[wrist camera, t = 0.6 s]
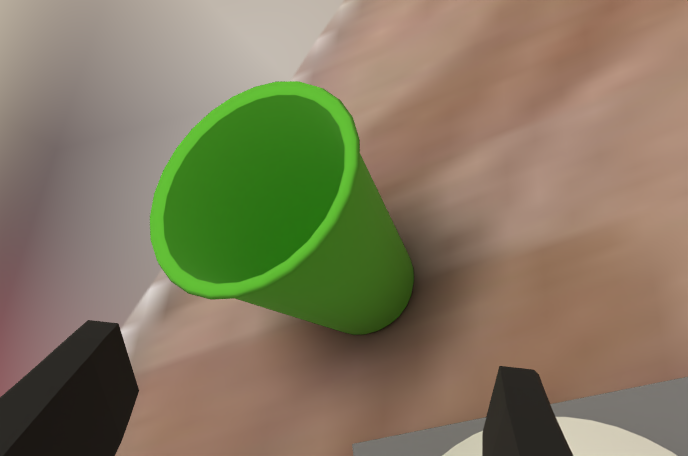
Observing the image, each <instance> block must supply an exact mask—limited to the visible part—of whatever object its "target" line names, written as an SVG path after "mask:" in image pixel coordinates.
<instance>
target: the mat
mask: <svg viewBox="0 0 688 456" xmlns="http://www.w3.org/2000/svg"><path fill="white" fill-rule="evenodd" d="M550 405H551V407H552V410H553V412H554V414H555V417H571V418H578V419H586V420H592V421H596V422H600V423H604V424H608V425H612V426H615V427H619V428H621V429H624V430H627V431H629V432H632V433H634V434H637V435H639V436H642V437H644V438H646V439H648V440H650V441H652V442H654V443H656V444H658V445H660V446H662V447H663V448H665V449H667V450H669V451H671V452H673V453H674V454H676V455H677V456H688V377H684V378H679V379H674V380H669V381H664V382H659V383H654V384H649V385H644V386H639V387H634V388H629V389H624V390H619V391H615V392H610V393H605V394H600V395H595V396H590V397H585V398H580V399H575V400H570V401H565V402H560V403H555V404H550ZM485 421H486V417H485V418H480V419H475V420H470V421H465V422H460V423H455V424H450V425H445V426H440V427H435V428H430V429H425V430H420V431H415V432H410V433H405V434H400V435H395V436H390V437H385V438H380V439H375V440H370V441H365V442H360V443H355V444H352V446H353V456H442V455H444V454H445V453H446V452H448V451H449V450H450V449H451V448H453V447H454V446H455V445H457V444H459V443H460V442H462V441H464V440H465V439H467V438H469V437H470V436H472V435H474V434H476V433H479V432H481V431H483V428H484V424H485Z"/></svg>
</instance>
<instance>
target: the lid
mask: <svg viewBox="0 0 688 456" xmlns="http://www.w3.org/2000/svg"><path fill="white" fill-rule="evenodd" d="M556 419H557V421H558V424H559V426H560V428H561V430H562V432H563V434H564V437H565V439H566V441H567V443H568V445H569V447H570V450H571V452H572V454H573V456H677V455H676V454H674V453H673V452H671V451H669V450H667V449H665V448H663V447H662V446H660V445H658V444H656V443H654V442H652V441H650V440H648V439H646V438H644V437H642V436H639V435H637V434H634V433H632V432H629V431H627V430H624V429H621V428H619V427H615V426H612V425H608V424H604V423H600V422H596V421H592V420H586V419H578V418H571V417H556ZM482 432H483V431H481V432H479V433H476V434H474V435H472V436H470V437H469V438H467V439H465V440H464V441H462V442H460V443H459V444H457V445H455V446H454V447H453V448H451V449H450V450H449V451H448V452H446V453H445V454H444V455H442V456H482Z"/></svg>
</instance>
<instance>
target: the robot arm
mask: <svg viewBox="0 0 688 456" xmlns="http://www.w3.org/2000/svg"><path fill="white" fill-rule="evenodd" d="M138 392H139V389H138V386H137V383H136V379H135V376H134V373H133V370H132V366H131V363H130V360H129V357H128V353H127V350H126V347H125V344H124V340H123V337H122V334H121V331H120V327H119V324H118V323H109V322H100V321H90V320H88V321H87V322H86V323H84V324H83V325H82V326H81V327H80V328H79V329H78V330H76V331H75V332H74V333H73V334H72V335H71V336H69V337H68V338H67V339H66V340H65V341H64V342H63V343H62V344H60V346H58V347H57V348H56V349H55V350H54V351H53V352H52V353H50V354H49V355H48V356H47V357H46V358H45V359H44V360H43V361H41V362H40V363H39V364H38V365H37V366H36V367H35V368H34V369H32V370H31V371H30V372H29V373H28V374H27V375H26V376H25V377H23V378H22V379H21V380H20V381H19V382H18V383H16V384H15V385H14V386H13V387H12V388H11V389H10V390H8V391H7V392H6V393H5V394H4V395H3V396H1V397H0V456H115V454H116V452H117V450H118V447H119V445H120V443H121V441H122V438H123V436H124V433H125V430H126V427H127V425H128V422H129V419H130V416H131V413H132V410H133V407H134V404H135V401H136V398H137V395H138ZM482 456H573V454H572V452H571V450H570V447H569V445H568V443H567V441H566V439H565V437H564V434H563V432H562V430H561V428H560V426H559V424H558V421H557V419H556V417H555V414H554V412H553V410H552V407H551V405H550V403H549V400H548V398H547V395H546V393H545V390H544V387H543V385H542V382H541V379H540V377H539V374H538V373H537V372H536V371H535V370H531V369H522V368H513V367H504V366H499V370H498V374H497V378H496V382H495V386H494V389H493V393H492V397H491V401H490V405H489V409H488V413H487V417H486V421H485V424H484V428H483V432H482Z"/></svg>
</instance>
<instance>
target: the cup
mask: <svg viewBox="0 0 688 456" xmlns="http://www.w3.org/2000/svg"><path fill="white" fill-rule="evenodd" d="M150 235H151V242H152V245H153V249H154V252H155V255H156V258H157V261H158V263H159V265H160V266H161V268H162V269H163V271H164V272H165V273H166V275H167V276H168V278H169V279H170V280H171V282H173V283H174V284H176V285H177V286H178V287H180V288H181V289H183V290H184V291H186V292H187V293H189V294H192V295H196V296H200V297H204V298H208V299H230V298H235V299H238V300H242V301H245V302H248V303H251V304H254V305H258V306H261V307H264V308H267V309H270V310H274V311H277V312H280V313H283V314H286V315H290V316H293V317H296V318H299V319H302V320H306V321H309V322H312V323H315V324H318V325H322V326H325V327H328V328H331V329H334V330H338V331H341V332H345V333H348V334H352V335H357V334H368V333H371V332H375V331H378V330H380V329H382V328H384V327H386V326H388V325H390V324H391V323H392V322H393V321H394V320H395V319H396V318H398V317H399V316H400V314H401V313H402V312H403V310H404V309H405V307H406V306H407V303H408V301H409V299H410V297H411V293H412V288H413V283H414V272H413V266H412V263H411V260H410V257H409V255H408V253H407V251H406V249H405V247H404V244H403V242H402V240H401V238H400V236H399V234H398V232H397V230H396V228H395V226H394V224H393V221H392V219H391V217H390V215H389V213H388V211H387V209H386V207H385V205H384V203H383V201H382V199H381V196H380V194H379V192H378V190H377V188H376V186H375V184H374V182H373V180H372V178H371V176H370V173H369V171H368V169H367V167H366V165H365V163H364V161H363V159H362V157H361V155H360V140H359V137H358V133H357V130H356V127H355V123H354V120H353V117H352V116H351V114H350V113H349V112H348V110H347V109H346V107H345V106H344V105H343V103H342V102H341V101H340V100H339V99H338V98H336V97H335V96H333V95H332V94H330V93H329V92H327V91H326V90H325V89H323V88H319V87H316V86H312V85H309V84H305V83H302V82H274V83H269V84H265V85H261V86H257V87H254V88H251V89H249V90H247V91H245V92H242V93H240V94H238V95H236V96H234V97H232V98H230V99H229V100H227V101H226V102H224V103H223V104H221V105H220V106H218V107H217V108H215V109H214V110H212V111H211V112H210V113H209V114H208V115H207V116H206V117H204V118H203V119H202V120H201V121H200V122H199V123H198V124H197V125H196V126H195V127H194V128H193V129H192V130H191V131H190V132H189V134H188V135H187V136H186V137H185V138H184V140H183V141H182V142H181V143H180V145H179V146H178V147H177V148H176V150H175V152H174V153H173V155H172V157H171V158H170V160H169V162H168V164H167V165H166V167H165V169H164V170H163V173H162V175H161V178H160V180H159V183H158V186H157V188H156V191H155V193H154V198H153V204H152V209H151V215H150Z"/></svg>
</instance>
